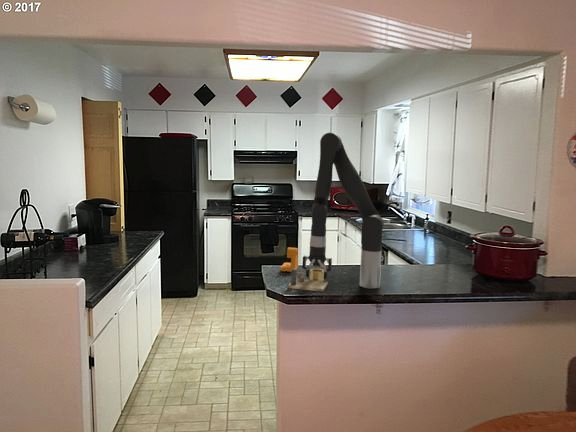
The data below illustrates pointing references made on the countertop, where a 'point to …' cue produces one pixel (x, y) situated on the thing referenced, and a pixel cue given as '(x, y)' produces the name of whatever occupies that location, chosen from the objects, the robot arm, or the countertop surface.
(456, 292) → the countertop surface
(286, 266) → the bracket
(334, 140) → the robot arm
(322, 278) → the brass collar
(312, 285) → the maple board
